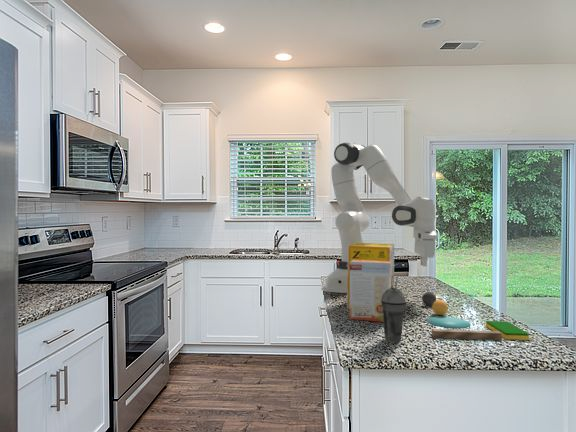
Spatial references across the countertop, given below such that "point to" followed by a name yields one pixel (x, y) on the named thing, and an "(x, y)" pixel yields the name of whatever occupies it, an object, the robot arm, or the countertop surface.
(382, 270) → the cracker box
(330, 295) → the countertop surface
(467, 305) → the countertop surface
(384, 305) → the beverage cup
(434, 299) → the dark gray ball
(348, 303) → the packaging box
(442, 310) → the orange ball
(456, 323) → the teal mark
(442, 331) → the brown wooden bar
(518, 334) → the dish sponge
